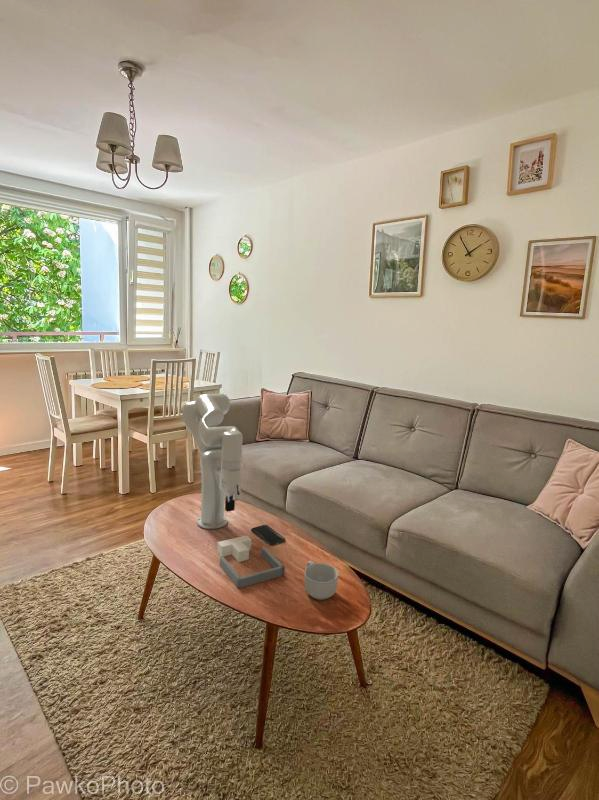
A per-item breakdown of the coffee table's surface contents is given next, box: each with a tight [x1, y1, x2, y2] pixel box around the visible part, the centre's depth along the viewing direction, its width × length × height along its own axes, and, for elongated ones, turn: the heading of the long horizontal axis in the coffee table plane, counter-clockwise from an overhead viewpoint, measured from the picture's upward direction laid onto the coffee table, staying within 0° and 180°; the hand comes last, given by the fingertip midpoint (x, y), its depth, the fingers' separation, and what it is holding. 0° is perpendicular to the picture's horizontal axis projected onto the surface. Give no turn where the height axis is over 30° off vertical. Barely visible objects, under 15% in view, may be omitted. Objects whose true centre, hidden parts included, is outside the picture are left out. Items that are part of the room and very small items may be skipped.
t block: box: [216, 535, 252, 563], centre depth 163 cm, size 10×12×4 cm
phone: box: [250, 524, 286, 546], centre depth 179 cm, size 8×1×15 cm
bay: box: [219, 546, 286, 589], centre depth 154 cm, size 15×17×3 cm
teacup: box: [304, 560, 339, 601], centre depth 144 cm, size 14×11×8 cm
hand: (229, 510), depth 168 cm, fingers closed
